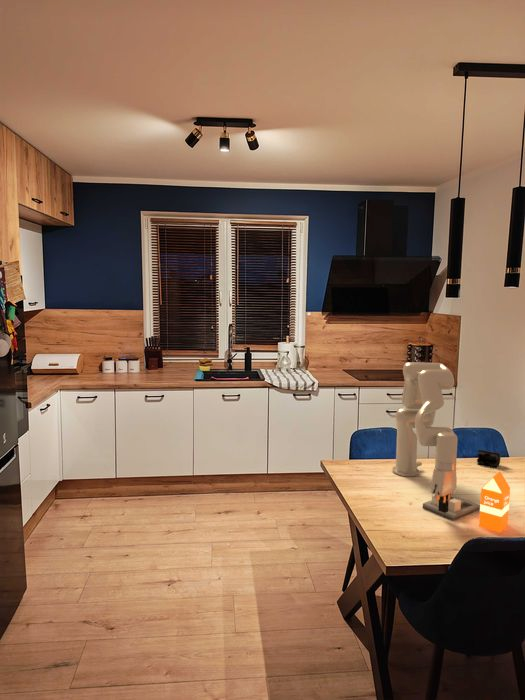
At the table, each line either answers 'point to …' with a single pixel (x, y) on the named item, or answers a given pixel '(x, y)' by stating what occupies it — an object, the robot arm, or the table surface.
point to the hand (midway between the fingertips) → (443, 511)
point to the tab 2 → (454, 505)
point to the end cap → (488, 459)
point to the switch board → (466, 509)
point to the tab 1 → (435, 501)
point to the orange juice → (494, 504)
